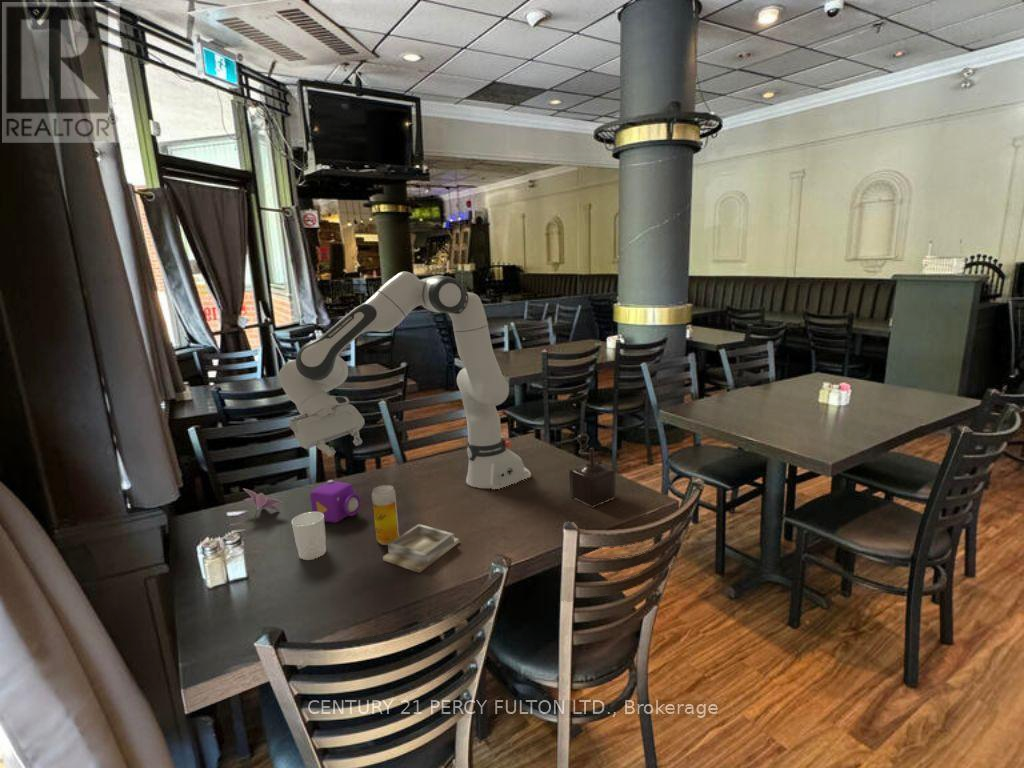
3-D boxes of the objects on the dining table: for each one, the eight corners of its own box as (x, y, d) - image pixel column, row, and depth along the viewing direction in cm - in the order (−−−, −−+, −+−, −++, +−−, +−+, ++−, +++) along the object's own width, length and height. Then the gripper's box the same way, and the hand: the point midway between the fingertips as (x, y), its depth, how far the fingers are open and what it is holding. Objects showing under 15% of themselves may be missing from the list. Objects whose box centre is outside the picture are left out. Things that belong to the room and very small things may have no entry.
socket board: (383, 560, 133) (381, 547, 132) (424, 532, 146) (423, 520, 145) (419, 572, 127) (418, 559, 126) (459, 542, 140) (458, 530, 139)
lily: (286, 522, 158) (290, 489, 160) (246, 521, 149) (251, 486, 152) (269, 523, 165) (273, 492, 168) (230, 522, 157) (234, 489, 160)
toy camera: (351, 526, 151) (347, 494, 149) (308, 523, 154) (304, 492, 151) (368, 509, 161) (365, 479, 159) (328, 507, 164) (324, 477, 162)
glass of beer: (375, 537, 144) (369, 487, 141) (397, 532, 146) (392, 482, 143) (378, 548, 139) (373, 495, 135) (401, 542, 141) (396, 491, 138)
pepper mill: (618, 498, 162) (618, 443, 158) (592, 508, 156) (591, 451, 152) (584, 482, 174) (583, 431, 170) (558, 491, 168) (557, 438, 164)
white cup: (304, 545, 141) (299, 511, 139) (332, 545, 141) (328, 511, 139) (291, 562, 134) (285, 526, 132) (321, 561, 133) (316, 525, 131)
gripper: (290, 413, 136) (319, 454, 133) (351, 395, 153) (378, 432, 150) (281, 427, 139) (310, 468, 136) (342, 408, 156) (368, 444, 153)
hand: (346, 449), depth 143 cm, fingers open, 8 cm apart
